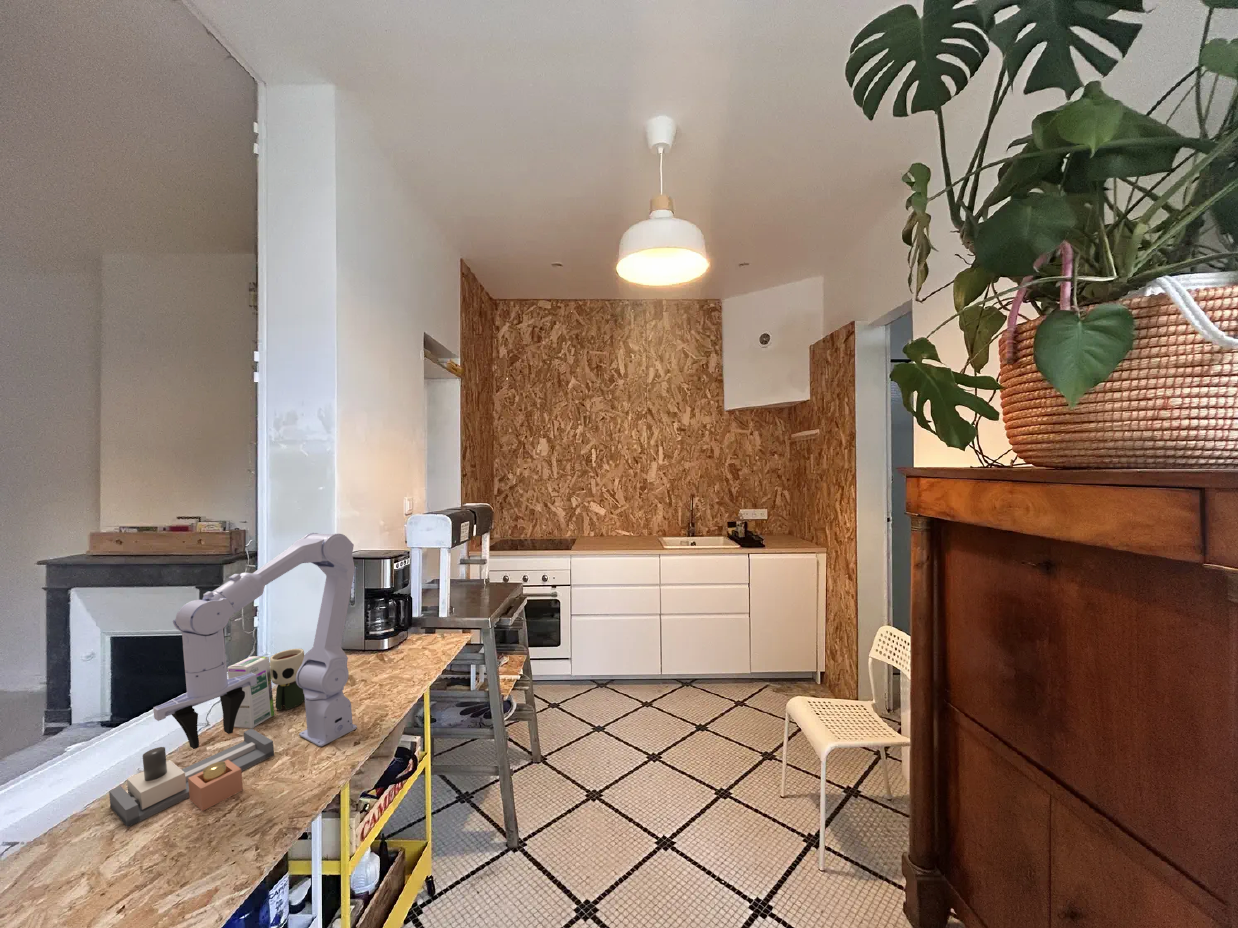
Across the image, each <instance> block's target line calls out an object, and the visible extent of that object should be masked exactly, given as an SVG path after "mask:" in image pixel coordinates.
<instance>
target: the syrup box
mask: <svg viewBox="0 0 1238 928" xmlns="http://www.w3.org/2000/svg"><path fill="white" fill-rule="evenodd" d="M226 668H227V679H231V678H235V677H238V676H242V675H246V674H249V673H254V674H256V678H257V684H256V685H253V686H247V687H244V688H242V691H244V692H245V698H244V700H243V701H242V703H241V705H240V708H239V710H238V713H237V716H236V719H235V723H234V728H239V729H240V728H241V729H255V728H256V726H259V724H261V723H263V722H265V721H267V720H268V719H270V718H273V716H275V707H274V698H273V685H272V680H271V674H270V657H269V656H262V655H258V656H257V655H254V656H251V655H250V656H248V657H247V658H245V659H243V660H241V661H238V662H236V663H234V664H231V665H229V666H228V667H226Z"/></svg>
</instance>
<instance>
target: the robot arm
mask: <svg viewBox="0 0 1238 928" xmlns="http://www.w3.org/2000/svg"><path fill="white" fill-rule="evenodd" d="M354 546H355V545H354V543H353V542H352V541H351V540H350V539H349V538H348V537H347V535H344V534H343V533H318V532H309V533H307V534H305V535H304V536H303V537H302V538H299V539H296V540H295V541H294V542H293V543H292V545H290V546H289V547H287V548H286V549H285V550H283V551H282V552H281V553H279V554H278V555H276V556H275V557H274V558H272V559H270V560H269V561H268V562H267V563H265V564H263V565H262V566H261V567H260V568H258V569H257V570H255V571H254V572H252V573H251V572H247V571H246V572H241V573H234V574H232V575H230V576H228V579H229V580H228V581H226V582H225V583H224V584H222V585H220V586H219V587H217V588H215V589H214V590H212V591H206V592H205V593H203V597H202V599H193V600H190V601H188V602H187V603H185V604H184V605H182V606H181V607H180V608H179V611H177V613H176V615H175V619H173V620H172V624H173V626H174V627H175V629H176V630H178V631H179V632H181V636H182V637H181V638H182V651H183V662H184V674H185V675H184V676H185V684H186V685H185V686H186V687H185V688H186V692H185V693H184V694H182V695H179V696H177V697H175V698H173V699H171V700H168V701H166V702H164V703H161V704H159V705H156V706H153V719H154V720H156V721H158V722H159V721H162V720H164V719H166V718H167V717H169V716H172V717H173V718H174V719H175V721H176V722H177V723H178V724H179V725H180V727H181V729H182V730H183V732H184V734H185V736H186V738H187V740H188V744H189V747H190V748H192V749H193V750H196V749H198V748H199V747H200V738H199V732H198V721H199V713H198V712H197V711H195V710H196V709H195V708H193V707H195V706H198V705H201V704H204V703H207V702H209V701H211V700H214V699H217V698H219V699H220V700H219V701H220V703H221V704H220V705H221V709H222V723H223V731H224V733H226V734H228V735H230V734H233V733H234V728H235V727H234V723H235V719H236V716H237V713H238V710H239V708H240V705H241V703H242V701H243V700H244V698H245V692H244V691H242V688H244V687H247V686H253V685H256V684H257V678H256V674H254V673H249V674H246V675H242V676H238V677H235V678H231V679H228V669H227V668H228V667H227V657H226V656H227V655H226V645H225V635H224V628H225V627H226V626H227V625H228V623H229V620H230V618H231V617H232V616H233V615H235V614H237V612H239V611H241V610H242V609H243V608H245V607H246V606H248V605H249V604H251V603H252V602H254V601H255V600H257V599H258V598H260V597H261V596H262V595H263V594H264V592H265V591H264V590H265V586H267V585H269V584H270V583H273V581H275V580H277V579H278V578H280V577H282V576H283V575H285V574H286V573H288V572H290V571H291V570H293V569H294V568H297V567H298V566H300V565H302V564H309V563H311V564H313V565H315V566H316V567H318V568H319V569H320V570H321V571H322V573H323V574H325V576H326V578H325V582H324V583H325V584H324V588H323V592H322V597H321V604H320V607H319V615H318V619H317V624H316V629H315V630H316V631H315V635H314V642H313V646H312V647H311V649H309V650H308V651H307V652H306V653H304V659H303V662H302V665H301V666H300V668H299V669H298V671H297V674H296V683H297V685H298V686H299V687H300V688H302V689H303V694H304V696H305V700H304V708H305V720H306V729H305V730H303V731H300V732H299V733H298V735H299V736H300V737H302V738H303V739H305V740H307V741H309V742H311V743H313V744H314V745H316V746H318V747H324V746H325V745H327V744H330V743H331V742H333V741H335V740H337V739H339V738H340V737H342V736H345V735H346V734H349V733H351V732H353V731H354V730H356V729H357V728H358V726H357V725H356V724H354V723H353V713H352V712H353V711H352V702H351V701H350V699H349V698H348V697H347V696H345V694H344V690H345V688H344V687H345V686H346V684H347V682H348V680H349V675H350V674H349V673H350V672H349V668H348V660H349V657H348V655H347V654H346V653H345V651H344V650H343V649H342V643H343V637H344V632H345V625H346V620H347V617H348V609H349V604H350V598H351V592H352V587H353V581H354V576H355V568H356V567H355V563H354V558H353V551H354Z"/></svg>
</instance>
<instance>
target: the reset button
mask: <svg viewBox="0 0 1238 928" xmlns="http://www.w3.org/2000/svg"><path fill="white" fill-rule="evenodd" d="M224 774H226V763H225V762H223V761H221V762H216V763H213V764H211V765H209V766H207V767H206V768H205V769H204V770H203V778H204V783H208V782H210V781H212V780H214V779H216V778H218V777H220V776H222V775H224Z"/></svg>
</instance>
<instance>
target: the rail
mask: <svg viewBox="0 0 1238 928" xmlns="http://www.w3.org/2000/svg"><path fill="white" fill-rule="evenodd" d="M243 739H244V740H243V741H242V742H241V741H240V742H239V743H237V744H235V745H232V746H230V747H228V748H226V749H224V750H221V751H219V752H216V753H215V754H213V755H211V756H208V757H206V758H204V759H202V760H199V761H197V762H195V763H193V764H191V765H188V766H186V767H184V768H182V769H181V770H183V771H184V772H185V778H186V789H184V790H182V791H180V792H178V793H176V794H174V795H172V796H170V797H168V798H166V799H163V800H161V801H159V802H157V803H155V804H153V805H151V806H149V807H147V808H145V809H143V810H142V809H141V808H140V802H139V801H138V800H137V799H136V797H135V796H134V795H133V796H131V797H130V795H129V794H128V791H126V790H125V789H124V787H123V786H122V785H120V786H118V787H117V786H116V787H114V788H113V789H111V790H108V792H109V793H108V795H109V805H110V809H111V810H112V811H113V812H114V813H115V815H116V816H117V818H119V819H120V820H121V822H122V823H123V824H124V825H125V827H126V828H129V827H131V826H133V825H134V826H135V824H137V823H139V822H141V821H144V820H146V819H148V818H150V817H151V816H154V815H156V814H158V813H160V812H162V811H164V810H166V809H168V808H170V807H172V806H174V805H176V804H178V803H181V802H182V801H184V800H187V799H188V798H190V796H189V784H188V778H189V777H191V776H194V775H196V774H198V773H200V772H202V771H203V770H204V769H205V768H206V767H207V766H209V765H211V764H213V763H216V762H221V761H226V760H229V761H231V762H232V763H234V764H235V765H236V766H238V767H239V768H241V771H242V772H243V771H245V770H246V769H249V768H251V767H253V766H255V765H258V764H259V763H261V762H262V761H265V760H267V759H269V758H271V757H273V756H275V749H274V740H272V739H270V738H269V737H267V736H266V735H263V734H262V733H260V732H258V731H257V730H255V729H254V728H248V730H246V731H243Z"/></svg>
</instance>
